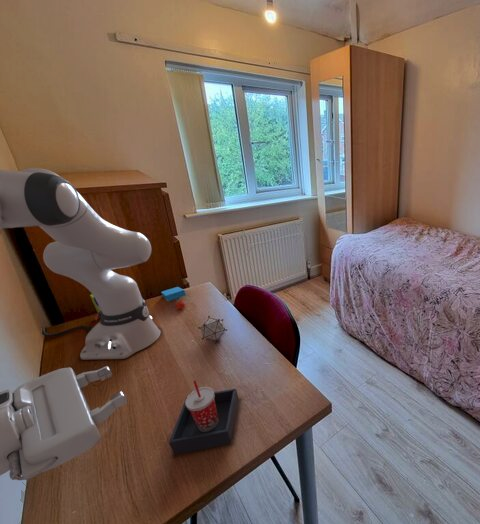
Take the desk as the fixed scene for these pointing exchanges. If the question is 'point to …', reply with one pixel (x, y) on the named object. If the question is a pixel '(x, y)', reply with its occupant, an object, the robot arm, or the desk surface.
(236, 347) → the desk surface
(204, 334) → the game die
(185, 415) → the tote
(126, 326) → the robot arm
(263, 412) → the desk surface
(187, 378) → the desk surface
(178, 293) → the lever
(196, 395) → the beverage cup
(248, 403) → the desk surface
